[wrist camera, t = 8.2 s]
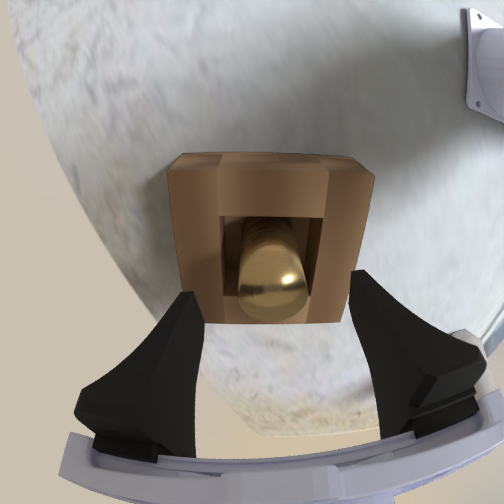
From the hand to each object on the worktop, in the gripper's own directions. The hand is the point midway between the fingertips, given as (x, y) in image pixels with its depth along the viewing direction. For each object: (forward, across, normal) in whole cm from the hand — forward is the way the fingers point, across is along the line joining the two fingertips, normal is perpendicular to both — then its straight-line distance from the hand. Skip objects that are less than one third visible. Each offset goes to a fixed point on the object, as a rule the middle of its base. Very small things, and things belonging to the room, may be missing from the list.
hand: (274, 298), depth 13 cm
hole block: (+7, 0, 0) cm, 7 cm away
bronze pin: (+6, 0, 0) cm, 6 cm away
